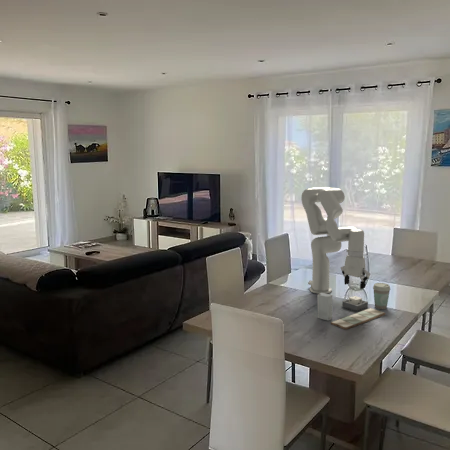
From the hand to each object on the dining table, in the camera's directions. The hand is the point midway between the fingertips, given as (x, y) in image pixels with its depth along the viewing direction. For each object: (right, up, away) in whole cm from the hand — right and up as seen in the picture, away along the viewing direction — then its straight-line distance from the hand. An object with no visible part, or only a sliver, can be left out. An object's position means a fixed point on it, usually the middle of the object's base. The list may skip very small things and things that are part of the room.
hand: (354, 286), depth 233 cm
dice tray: (+1, -11, +2) cm, 12 cm away
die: (+1, -11, +2) cm, 11 cm away
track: (-2, -14, -14) cm, 20 cm away
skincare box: (-18, -14, -12) cm, 26 cm away
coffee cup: (+14, -11, +2) cm, 18 cm away
